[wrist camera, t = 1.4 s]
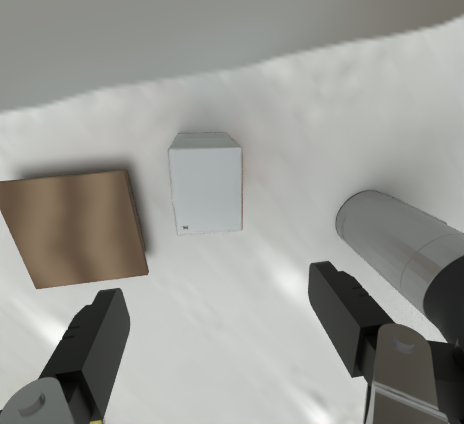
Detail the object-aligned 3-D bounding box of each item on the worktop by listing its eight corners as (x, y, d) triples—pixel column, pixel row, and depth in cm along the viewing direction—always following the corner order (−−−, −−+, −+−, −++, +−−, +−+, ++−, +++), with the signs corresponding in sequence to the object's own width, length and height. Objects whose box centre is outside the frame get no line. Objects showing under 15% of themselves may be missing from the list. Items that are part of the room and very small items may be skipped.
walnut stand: (133, 162, 33) (123, 171, 29) (153, 254, 39) (147, 274, 34) (18, 172, 32) (-12, 184, 28) (55, 266, 38) (36, 289, 33)
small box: (228, 190, 37) (243, 232, 25) (182, 193, 36) (175, 237, 24) (226, 130, 33) (243, 145, 22) (176, 132, 33) (165, 148, 21)
